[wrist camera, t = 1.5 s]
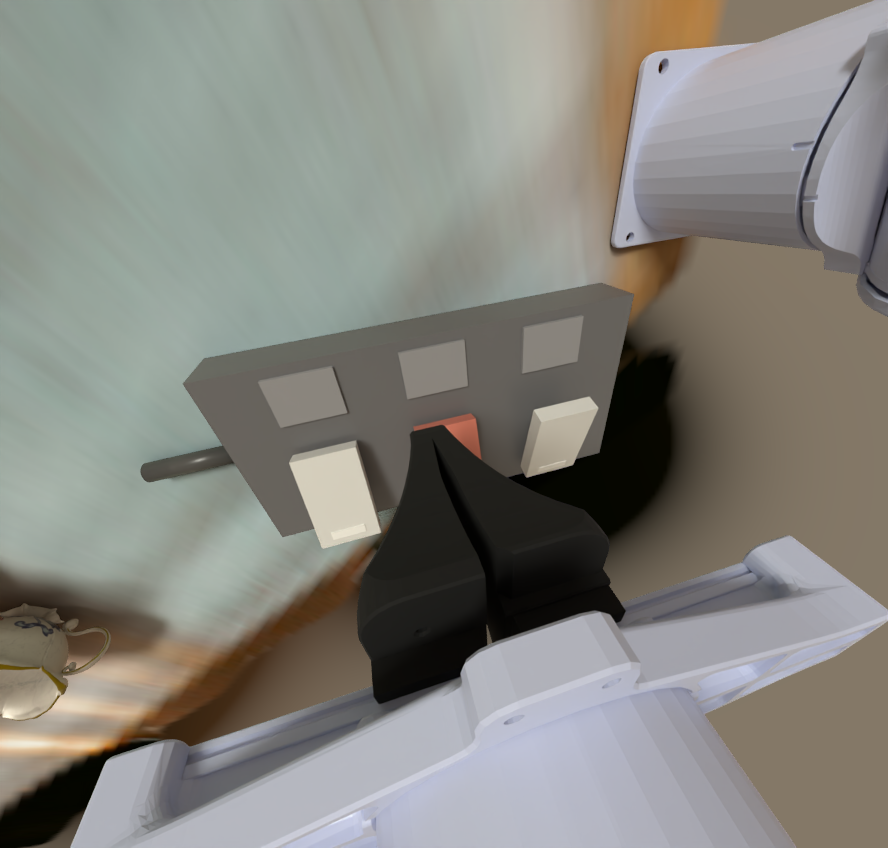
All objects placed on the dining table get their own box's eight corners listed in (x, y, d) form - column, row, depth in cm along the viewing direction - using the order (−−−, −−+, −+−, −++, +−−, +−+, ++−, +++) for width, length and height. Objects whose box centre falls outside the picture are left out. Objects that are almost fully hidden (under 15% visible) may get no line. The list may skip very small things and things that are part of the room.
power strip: (601, 282, 21) (636, 295, 19) (577, 430, 28) (600, 454, 26) (81, 382, 17) (36, 414, 15) (204, 525, 24) (187, 564, 22)
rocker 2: (584, 389, 20) (599, 408, 19) (561, 447, 25) (573, 465, 24) (529, 402, 20) (541, 422, 19) (517, 459, 24) (526, 478, 23)
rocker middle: (468, 410, 21) (476, 419, 19) (479, 490, 23) (487, 503, 22) (411, 423, 20) (415, 433, 19) (429, 503, 23) (434, 518, 21)
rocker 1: (356, 436, 20) (355, 447, 18) (380, 517, 22) (381, 533, 21) (294, 450, 19) (288, 463, 18) (325, 532, 22) (322, 549, 20)
